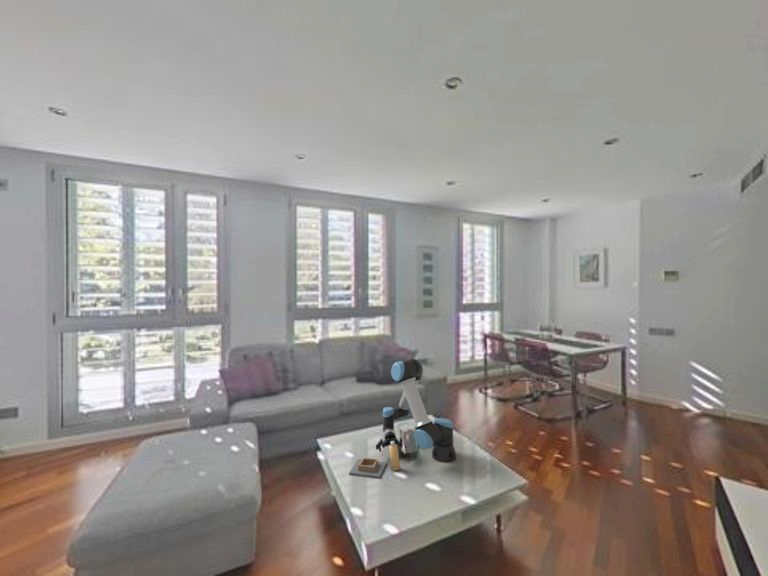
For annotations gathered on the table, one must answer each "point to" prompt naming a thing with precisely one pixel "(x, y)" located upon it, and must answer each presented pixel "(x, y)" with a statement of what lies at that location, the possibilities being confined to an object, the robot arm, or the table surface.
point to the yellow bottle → (394, 456)
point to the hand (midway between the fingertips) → (393, 452)
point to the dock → (368, 468)
